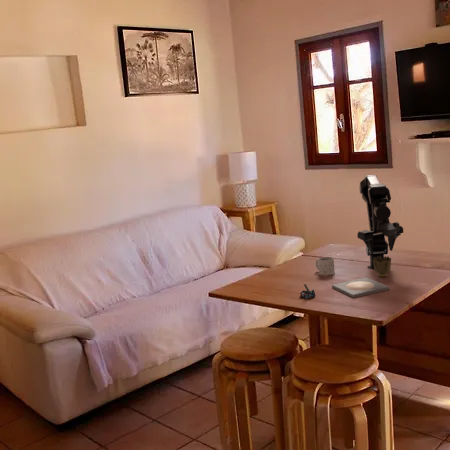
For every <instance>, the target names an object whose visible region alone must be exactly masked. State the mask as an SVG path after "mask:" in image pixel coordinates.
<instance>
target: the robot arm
mask: <svg viewBox="0 0 450 450" xmlns="http://www.w3.org/2000/svg"><path fill="white" fill-rule="evenodd" d="M359 194H360V195H361V199H362V200H363V201H364V202H365V204H366V210H367V219H368V228H369V230H367V229H364V230H359V231H358V232H357V239H359V240H361V241H363V243H364V244H365V253H366V256H368V257H369V263H370V265H367V268H369V269H371V270H374V271H375V269H374V264H373V258H375V257H376V258H377V256H378V257H379V258H380V256H381V258H384V257H385V255H388V254H389V251H391V252H392V251H393V249H394V245H395V244H396V243H395V242H396V240H397V238H398V237H399V236H401V234H404V227H403V226H402V225H400V222H398V221H396V222H390V217H391V214H392V212H391V209H390V208H389V207H388V206H387V204H388V203H391V199H392V197H391V191H390V189H389V187H387V185H386V184H385V183H381V182H380V180H379V179H378V176H377V175H376V174H370V175H369V174H368V175H365V176H364V178H363V179H362V180H361V181H360V182H359ZM386 237H387V240H386Z"/></svg>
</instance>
